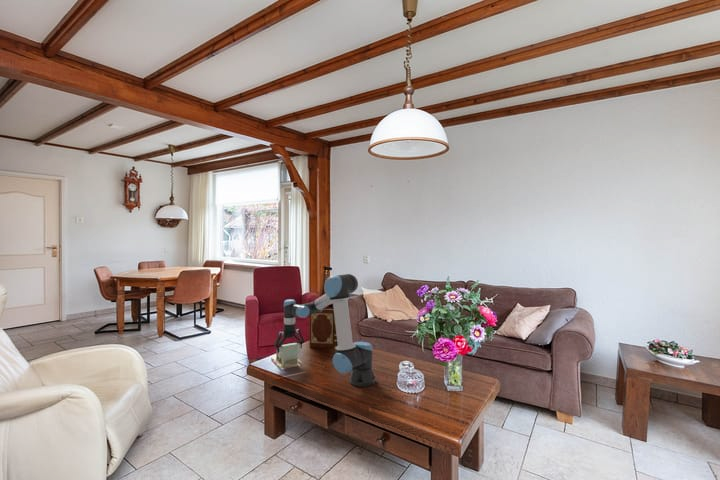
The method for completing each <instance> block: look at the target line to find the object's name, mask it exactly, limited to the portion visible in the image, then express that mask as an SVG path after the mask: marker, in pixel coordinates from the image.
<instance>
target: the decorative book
mask: <svg viewBox="0 0 720 480" xmlns="http://www.w3.org/2000/svg"><path fill="white" fill-rule="evenodd" d="M337 346H338V342H337V334H336V325H335V317H334V309H333V307H329V306H327V307H325V308H323V310H322V311H321V312H319V313H314V314H310V315H309V348H321V349H322V348H323V349H336V347H337Z"/></svg>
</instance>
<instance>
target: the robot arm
mask: <svg viewBox="0 0 720 480" xmlns="http://www.w3.org/2000/svg"><path fill="white" fill-rule="evenodd" d="M358 287H359V282H358V279H357V277H356V276H355V275H353V274H351V273H346V274H337V275H332V276H329V277H327V279H326V280H325V282H324V285H323V290H324V294H322V295H321V296H319V297H318V298H317V299H315V300H314V301H312V302H311V301H310V302H306V303H303V304H297V303H296V300H295V299H291V298H289V299H285V300H284V301H283V331H279V332H278V336H277V338H276V340H275V342H274V345H273V346H274V347H275V348H276V350H277V352H278V357H279V358H281V348H282V345H283V343H284V342H285V341H286V340H287V339H291V338H294V339H295V340H296V341H297V342H298V343H297V344H298V355H301V349H302V348H303V344H304V343H305V339H304V337H303V336H302V333H301V330H300V329H299V328H297V329H296V317H298V318H303V319H305V318H307V317H308V316H310V314H314V313H319V312H321V311H322V310H323V308H325V307H329V305H332V308H333V309H334V317H335V325H336V334H337V342H338V346H337V347H336V348H335V354H333V356H332V365H333V367H334V368H335V370H336V371H337V372H338V373H340V374H347V373H351V374H350V376H349V383H350V384H351V385H352V386H355V387H359V388H367V387H371V386H373V385H374V384H375V383H376V376H375V373H374V370H373V345H372V344H371V343H369V342H365V341H354V342H353V334H352V326H351V325H352V324H351V317H350V309H349V302H348V301H349V300H350V298H351V296H350V295H351V294H353V293H354V292H356V290H357V289H358ZM296 333H297V334H298V337H297V335H296Z"/></svg>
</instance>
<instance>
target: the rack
mask: <svg viewBox="0 0 720 480" xmlns="http://www.w3.org/2000/svg"><path fill="white" fill-rule="evenodd" d="M275 353H276V354H275V355H276V356H275V357H276V358H273V357H270V360H271V361H272V362H273V364H275V366H276V367H277V368H278V369H279V370H284V369H289V368H294V367H299V366H303V362H302V361H301V360H300V359H298V365H297V359H293V360H288V361H285V368H283V367H282V366H281V362H280V358H279V357H278V352H277V349H276V351H275Z"/></svg>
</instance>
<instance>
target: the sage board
mask: <svg viewBox="0 0 720 480" xmlns="http://www.w3.org/2000/svg"><path fill="white" fill-rule="evenodd" d="M280 348H281V366H282V367H283V368H285V361H288V360H293V359H297V365H298V360H299V356H298V355H299V354H298V343H297V342H293V343H292V342H291V343H286V344H282V345H281V347H280Z"/></svg>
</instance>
